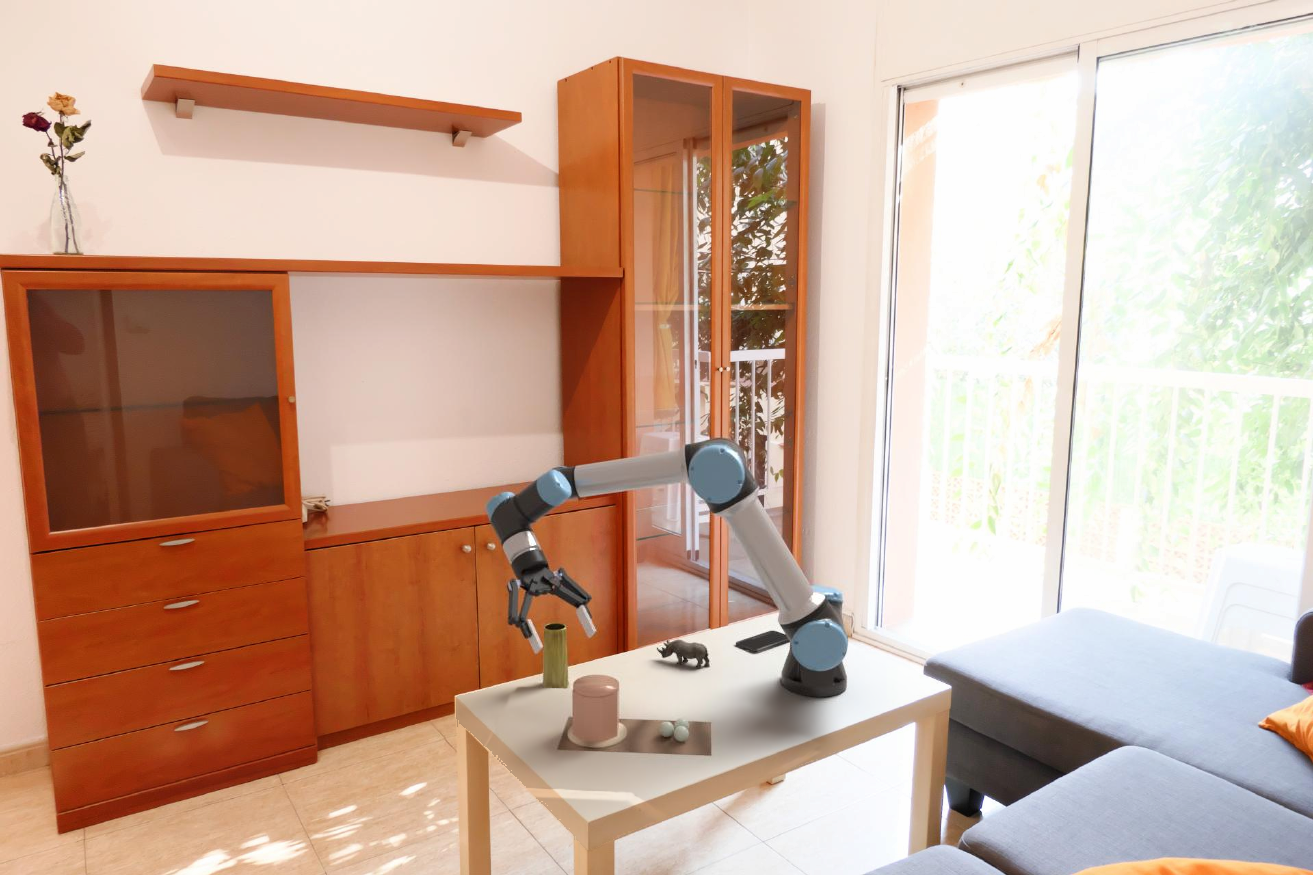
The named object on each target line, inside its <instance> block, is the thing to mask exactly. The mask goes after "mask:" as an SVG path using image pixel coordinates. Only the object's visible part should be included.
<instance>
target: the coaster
mask: <svg viewBox="0 0 1313 875" xmlns="http://www.w3.org/2000/svg"><path fill="white" fill-rule="evenodd" d="M626 736H627V729H626V727H625V726H624V725H623V724H621V723H619V730H618V735H617V736H616V737H614V738H611V739H609V740H606V741H604V742H588V741H582V740H581V739H579V738H578V737H576V736H574V735H573V725H572V726H571V727H570V728H569V730H568V738H569V740H570V741H571V742H573V743H574V744H576V745H578V746H582V747H586V748H606V747H610V746H614V745H617V744H619V743H620V742H622V741H623V740H624V739H625V738H626Z"/></svg>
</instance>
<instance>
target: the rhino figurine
mask: <svg viewBox="0 0 1313 875" xmlns="http://www.w3.org/2000/svg"><path fill="white" fill-rule="evenodd" d="M663 645H664V646H665V647H661V649H659V647H656V651H657V652H658V653H659V654H661V657H662V659H665V658H669V657H671V656H672V655H673V654H675V655H676V658H677V660H678V661H677V662H676V663H675V665H676V666H683V662H685V663H684V664H686V663H688V662H689V660H694V659H696V661H697V662H696V665H695V666H694V669H696V670H700V669H702V668H703V667H705V668H710V666H711V665H710V661H711V660H710V659H709V652H708V648H707V647H706V645H704V644H703V643H698V642H686V641H685V640H682V639H675V640H673V641H670V640H669V639H667V640H666V642H663ZM704 662H705V663H704ZM703 664H704V665H703ZM702 665H703V667H702Z"/></svg>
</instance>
